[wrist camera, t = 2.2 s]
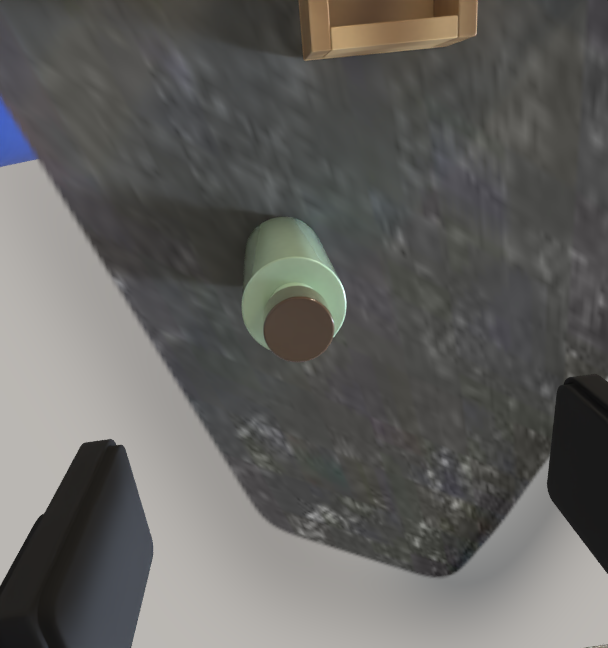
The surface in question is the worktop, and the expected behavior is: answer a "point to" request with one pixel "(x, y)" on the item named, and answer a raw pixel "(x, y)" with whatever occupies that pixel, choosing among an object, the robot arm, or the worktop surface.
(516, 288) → the worktop surface
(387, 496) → the worktop surface
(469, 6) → the box
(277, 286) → the bottle
